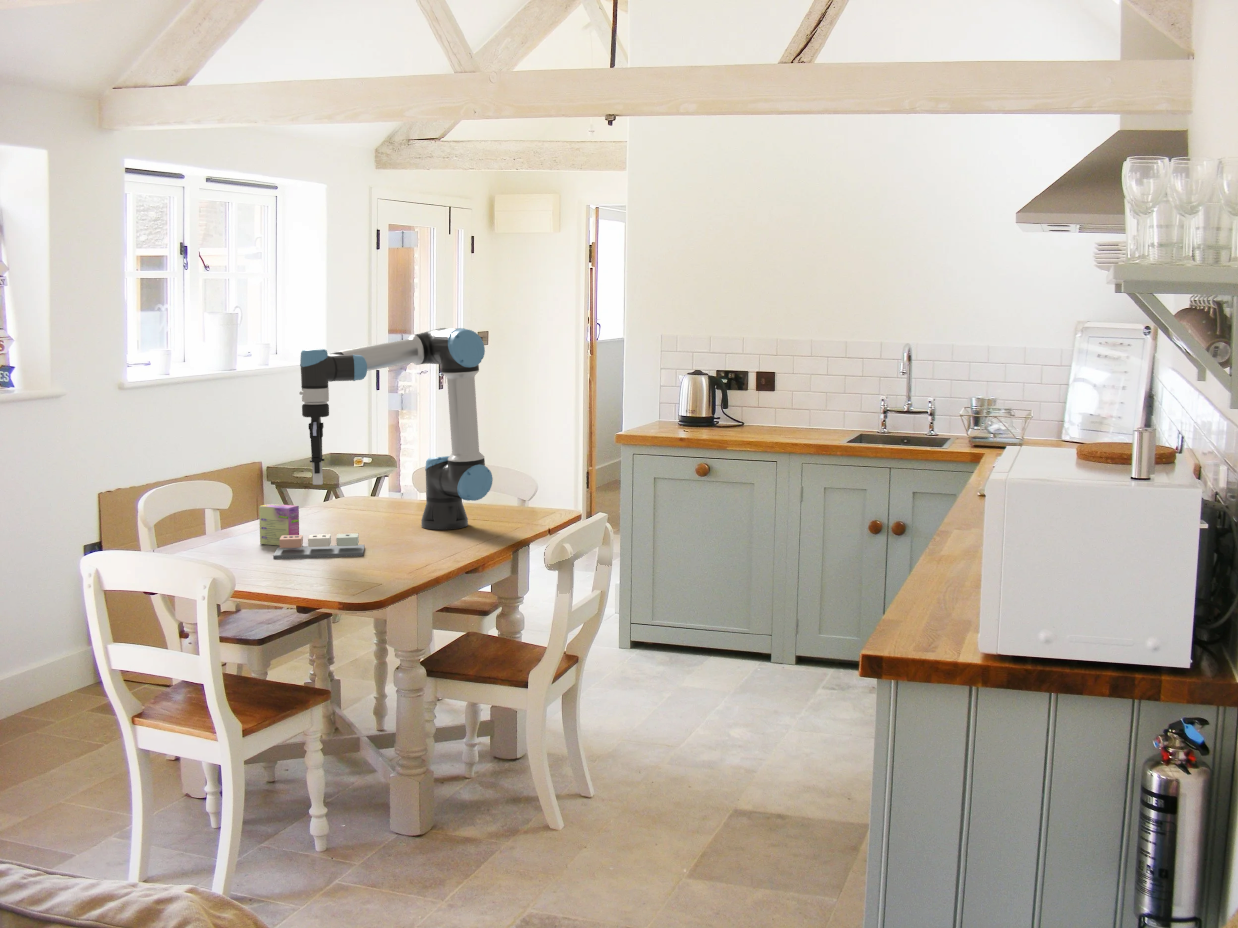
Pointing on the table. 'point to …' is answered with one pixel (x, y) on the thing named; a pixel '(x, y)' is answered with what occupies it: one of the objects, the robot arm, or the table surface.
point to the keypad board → (319, 552)
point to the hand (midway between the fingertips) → (317, 484)
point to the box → (277, 522)
